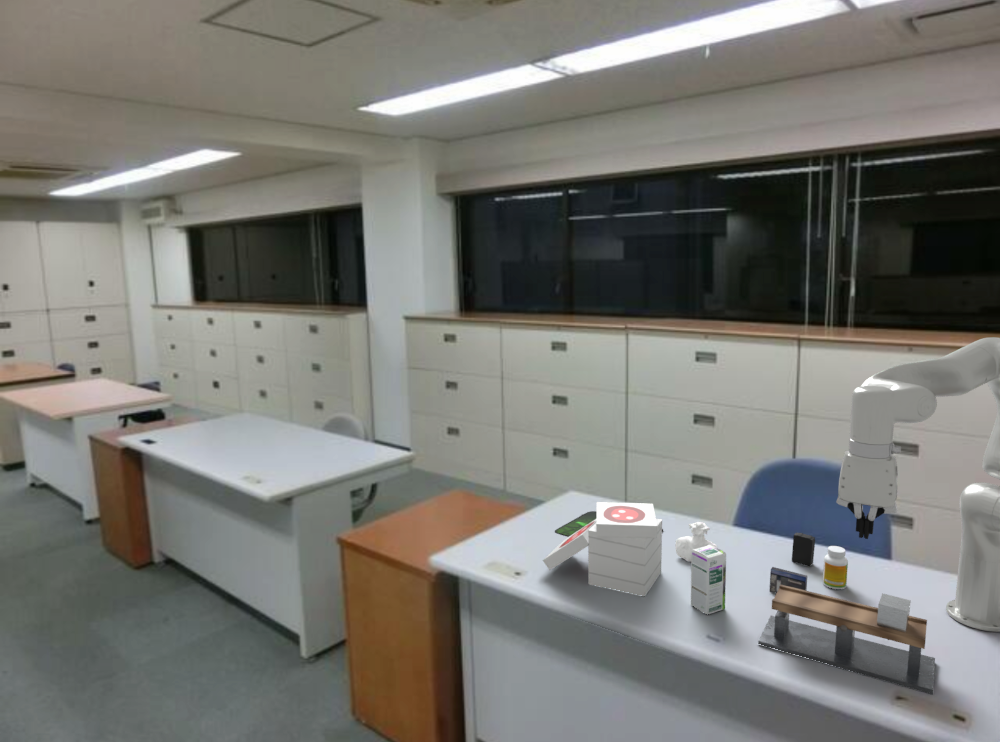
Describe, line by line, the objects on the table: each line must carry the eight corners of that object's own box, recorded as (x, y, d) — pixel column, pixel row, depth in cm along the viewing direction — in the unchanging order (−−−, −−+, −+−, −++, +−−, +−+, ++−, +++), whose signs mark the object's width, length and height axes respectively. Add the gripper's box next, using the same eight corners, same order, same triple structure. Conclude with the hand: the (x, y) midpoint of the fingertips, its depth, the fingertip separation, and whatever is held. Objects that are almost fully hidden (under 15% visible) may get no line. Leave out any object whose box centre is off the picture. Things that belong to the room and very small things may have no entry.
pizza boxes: (567, 549, 196) (567, 489, 193) (671, 570, 182) (672, 506, 178) (538, 577, 180) (537, 513, 176) (650, 603, 165) (651, 533, 162)
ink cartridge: (813, 564, 183) (815, 536, 182) (810, 567, 182) (812, 539, 180) (794, 558, 187) (796, 531, 185) (791, 561, 185) (793, 534, 184)
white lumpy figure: (719, 571, 185) (726, 531, 189) (713, 564, 179) (721, 523, 184) (675, 561, 192) (684, 523, 196) (669, 554, 186) (678, 515, 190)
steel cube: (908, 623, 137) (910, 600, 136) (905, 634, 133) (907, 611, 132) (880, 615, 140) (882, 593, 139) (876, 626, 136) (878, 603, 135)
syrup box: (707, 616, 159) (709, 558, 156) (689, 604, 164) (691, 548, 162) (725, 609, 162) (727, 552, 159) (707, 598, 167) (709, 543, 164)
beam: (925, 630, 138) (927, 618, 138) (924, 653, 131) (925, 640, 130) (780, 594, 153) (780, 583, 153) (770, 612, 146) (771, 601, 145)
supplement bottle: (849, 591, 169) (851, 554, 167) (825, 589, 170) (828, 553, 168) (842, 580, 174) (845, 545, 172) (820, 579, 175) (822, 543, 173)
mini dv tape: (769, 591, 170) (770, 569, 169) (771, 589, 171) (772, 566, 170) (804, 601, 165) (805, 578, 164) (806, 598, 166) (807, 575, 165)
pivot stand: (934, 662, 139) (937, 627, 138) (932, 694, 130) (936, 657, 128) (770, 619, 157) (772, 588, 156) (758, 644, 147) (759, 611, 146)
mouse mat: (551, 533, 208) (551, 530, 208) (589, 511, 225) (589, 508, 225) (630, 557, 191) (630, 553, 191) (665, 531, 208) (665, 528, 207)
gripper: (915, 448, 133) (908, 536, 136) (831, 439, 141) (826, 522, 145) (913, 459, 127) (905, 551, 130) (825, 448, 135) (820, 535, 139)
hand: (864, 535), depth 137 cm, fingers closed
